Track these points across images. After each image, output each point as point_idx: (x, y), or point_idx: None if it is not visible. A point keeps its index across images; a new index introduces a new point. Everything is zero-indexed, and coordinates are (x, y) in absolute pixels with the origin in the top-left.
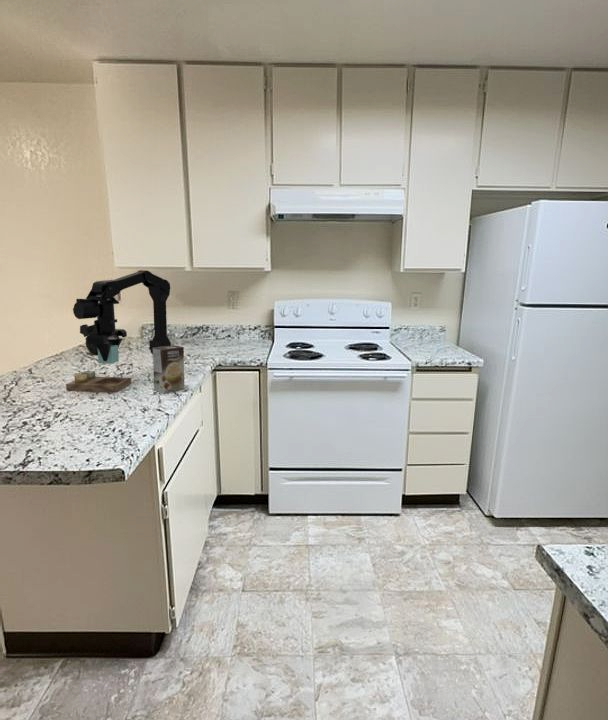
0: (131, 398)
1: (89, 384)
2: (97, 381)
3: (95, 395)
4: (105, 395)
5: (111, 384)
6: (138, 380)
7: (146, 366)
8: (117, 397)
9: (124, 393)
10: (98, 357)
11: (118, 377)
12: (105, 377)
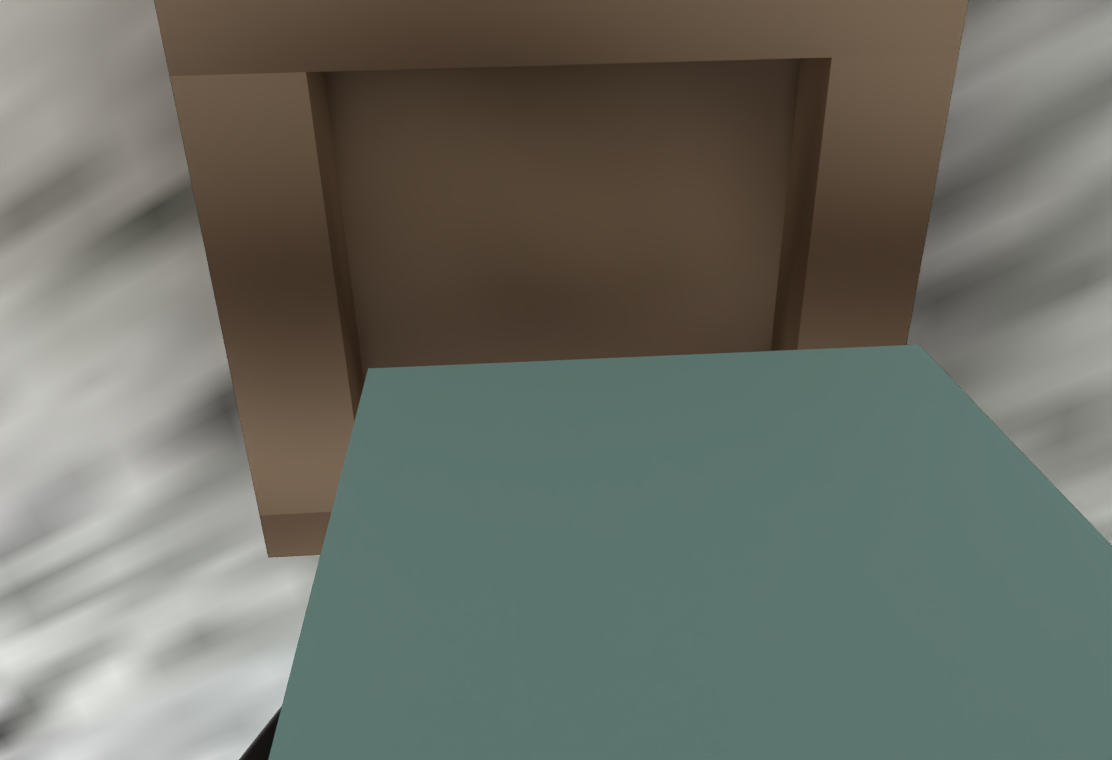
0: (104, 755)
1: (194, 16)
2: (494, 53)
3: (33, 254)
4: (98, 406)
5: (332, 449)
6: (1058, 464)
7: None
8: (75, 600)
9: (290, 595)
10: (327, 533)
11: (885, 316)
12: (888, 37)
